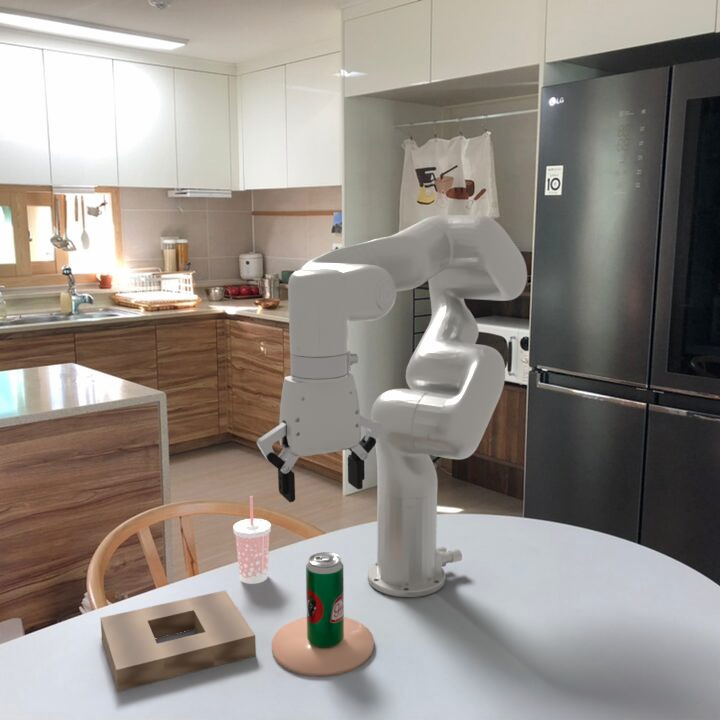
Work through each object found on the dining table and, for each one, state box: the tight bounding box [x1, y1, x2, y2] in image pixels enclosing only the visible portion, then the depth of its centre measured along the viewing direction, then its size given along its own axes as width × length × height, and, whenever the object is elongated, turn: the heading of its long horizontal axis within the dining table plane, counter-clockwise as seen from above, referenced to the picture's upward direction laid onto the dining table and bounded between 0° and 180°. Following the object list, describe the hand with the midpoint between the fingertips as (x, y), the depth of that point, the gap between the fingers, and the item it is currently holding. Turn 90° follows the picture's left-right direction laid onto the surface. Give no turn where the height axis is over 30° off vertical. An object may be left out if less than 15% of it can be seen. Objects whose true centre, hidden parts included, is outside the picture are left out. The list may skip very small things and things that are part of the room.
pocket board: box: [100, 589, 257, 692], centre depth 105 cm, size 18×14×3 cm
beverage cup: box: [232, 495, 272, 585], centre depth 124 cm, size 6×6×14 cm
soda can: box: [305, 551, 345, 648], centre depth 104 cm, size 5×5×12 cm
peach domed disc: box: [271, 616, 375, 677], centre depth 105 cm, size 14×14×1 cm
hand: (322, 492), depth 102 cm, fingers open, 9 cm apart
